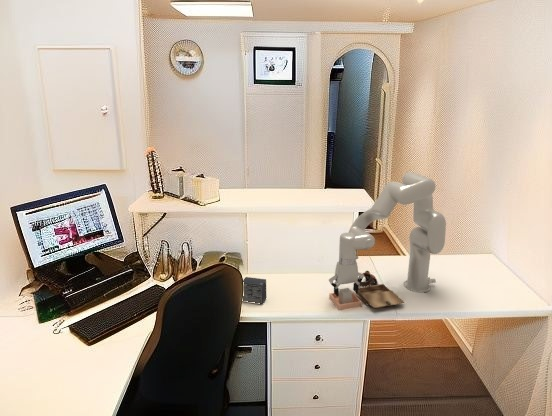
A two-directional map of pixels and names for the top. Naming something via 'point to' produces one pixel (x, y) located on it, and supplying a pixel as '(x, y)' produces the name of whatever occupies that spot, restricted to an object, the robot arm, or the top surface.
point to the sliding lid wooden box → (378, 296)
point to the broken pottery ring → (368, 279)
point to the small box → (254, 290)
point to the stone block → (345, 296)
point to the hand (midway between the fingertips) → (346, 293)
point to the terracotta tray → (355, 303)
